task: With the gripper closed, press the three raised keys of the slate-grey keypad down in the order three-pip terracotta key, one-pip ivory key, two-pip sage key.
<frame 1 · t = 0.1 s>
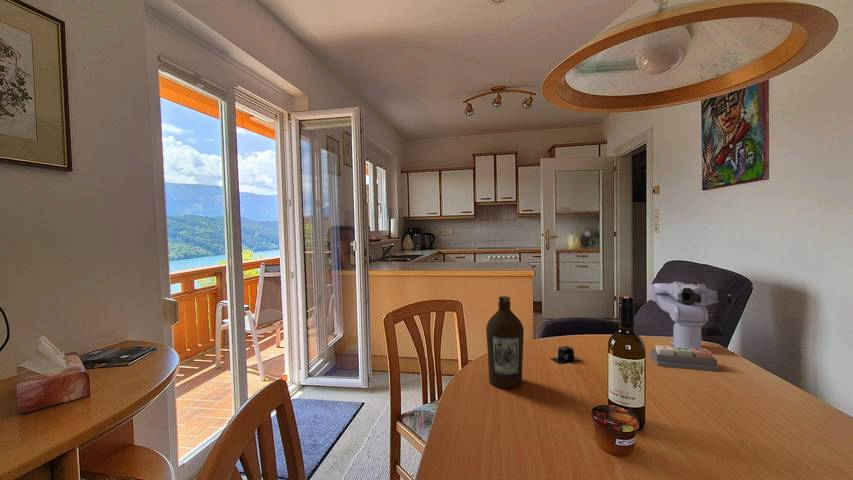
hand: (714, 299, 106), 22 cm above the table, tool horizontal, fingers open, 7 cm apart
key one pip: (664, 350, 112), point 4 cm above the table, slide at 0.0 cm
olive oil: (505, 382, 100), on the table
key two pip: (682, 351, 111), point 4 cm above the table, slide at 0.0 cm
keypad base: (682, 363, 111), on the table
black block: (565, 361, 116), on the table
key three pip: (701, 353, 109), point 4 cm above the table, slide at 0.0 cm
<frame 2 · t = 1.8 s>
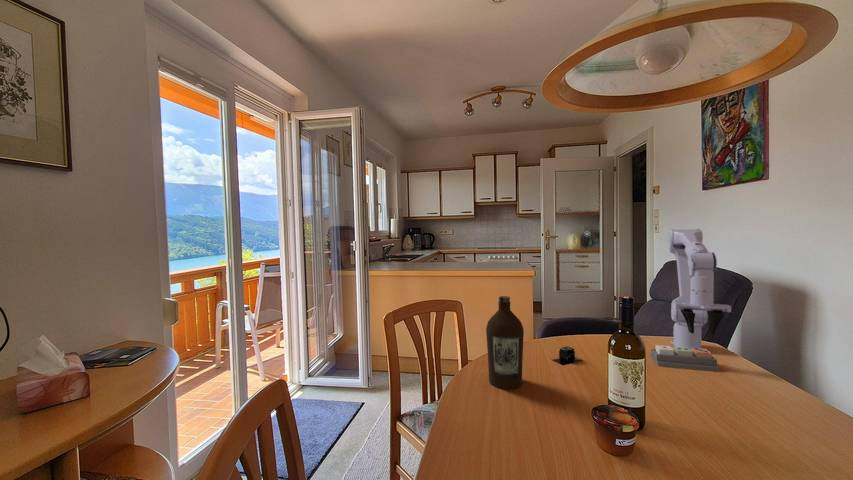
hand: (701, 333, 109), 10 cm above the table, tool pointing down, fingers open, 5 cm apart
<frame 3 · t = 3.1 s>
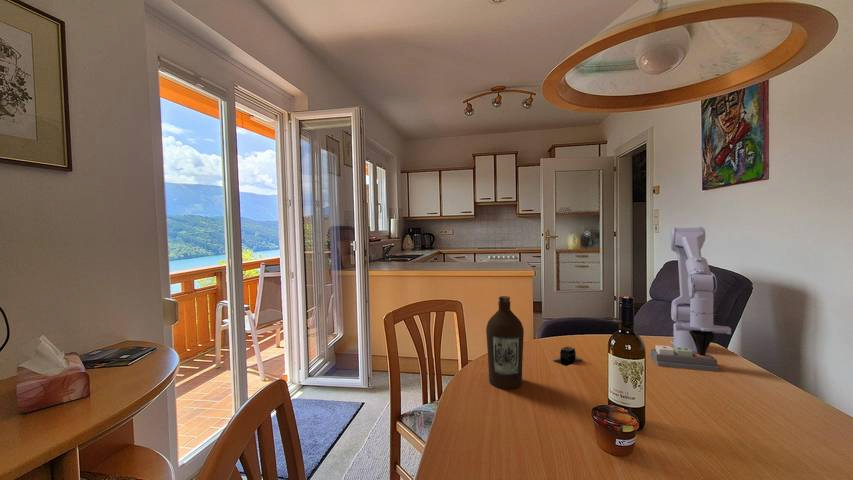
hand: (701, 354, 109), 4 cm above the table, tool pointing down, fingers closed, pressing on key three pip
key three pip: (701, 357, 109), point 3 cm above the table, slide at 1.3 cm, touching gripper
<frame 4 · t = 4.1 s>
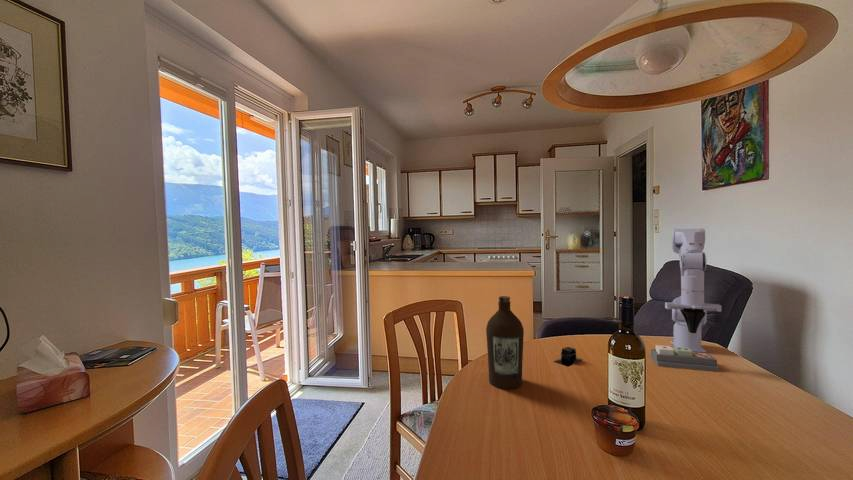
hand: (692, 332, 110), 10 cm above the table, tool pointing down, fingers closed
key three pip: (701, 357, 109), point 2 cm above the table, slide at 1.5 cm
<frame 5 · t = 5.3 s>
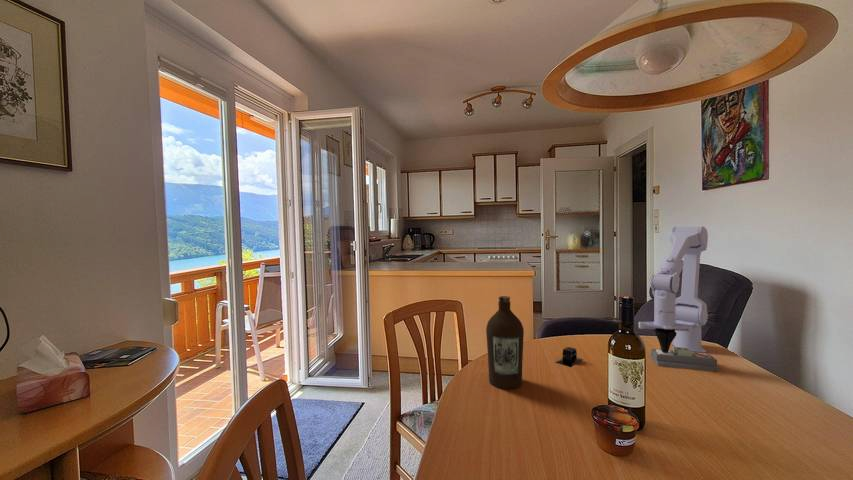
hand: (664, 351, 112), 3 cm above the table, tool pointing down, fingers closed, pressing on key one pip
key one pip: (664, 354, 112), point 2 cm above the table, slide at 1.5 cm, touching gripper
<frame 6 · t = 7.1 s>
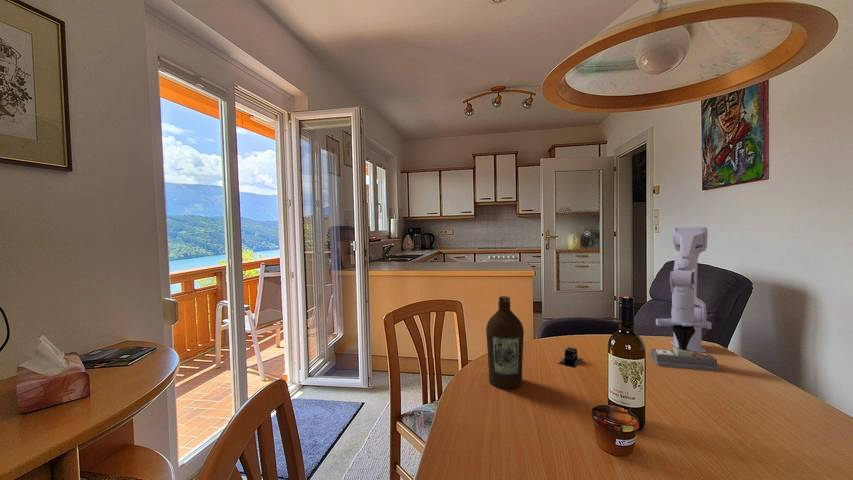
hand: (682, 349, 111), 5 cm above the table, tool pointing down, fingers closed, pressing on key two pip
key one pip: (664, 354, 112), point 2 cm above the table, slide at 1.5 cm
key two pip: (682, 352, 111), point 4 cm above the table, slide at 0.0 cm, touching gripper
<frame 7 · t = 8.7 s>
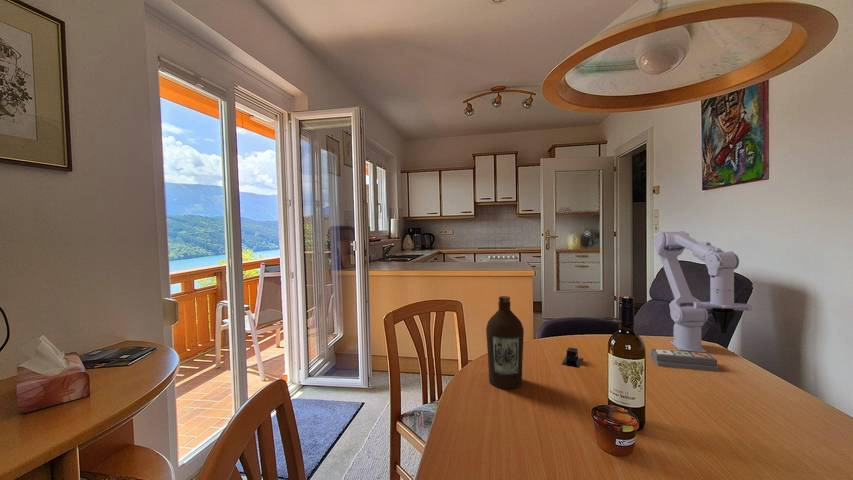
hand: (722, 332, 109), 10 cm above the table, tool pointing down, fingers closed
key two pip: (682, 356, 111), point 2 cm above the table, slide at 1.5 cm
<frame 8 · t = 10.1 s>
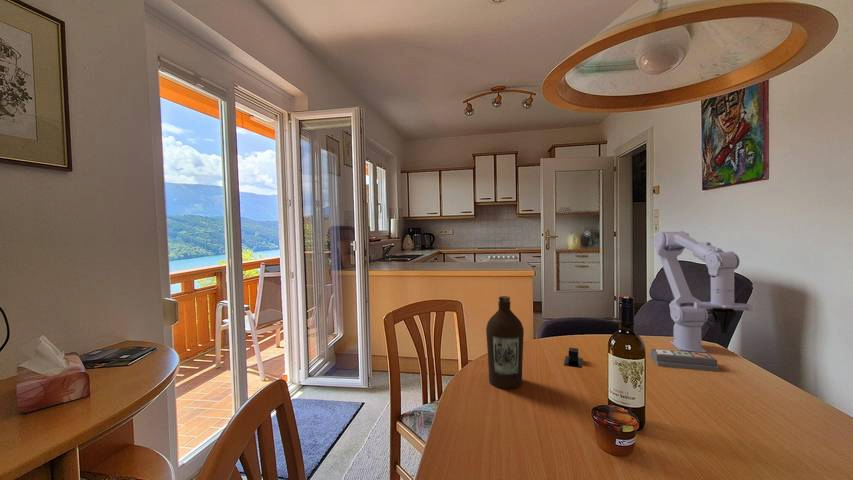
hand: (722, 332, 109), 10 cm above the table, tool pointing down, fingers closed
at the end: key three pip slide at 1.5 cm; key one pip slide at 1.5 cm; key two pip slide at 1.5 cm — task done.
